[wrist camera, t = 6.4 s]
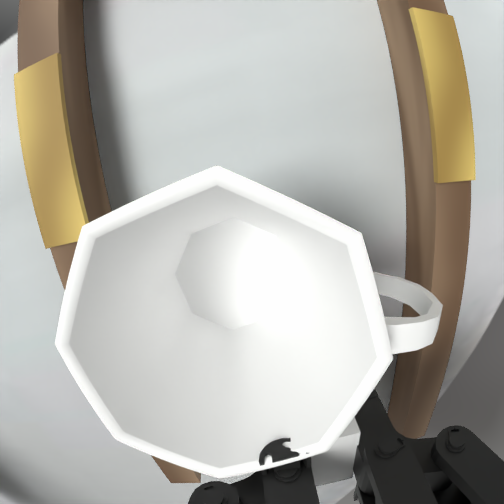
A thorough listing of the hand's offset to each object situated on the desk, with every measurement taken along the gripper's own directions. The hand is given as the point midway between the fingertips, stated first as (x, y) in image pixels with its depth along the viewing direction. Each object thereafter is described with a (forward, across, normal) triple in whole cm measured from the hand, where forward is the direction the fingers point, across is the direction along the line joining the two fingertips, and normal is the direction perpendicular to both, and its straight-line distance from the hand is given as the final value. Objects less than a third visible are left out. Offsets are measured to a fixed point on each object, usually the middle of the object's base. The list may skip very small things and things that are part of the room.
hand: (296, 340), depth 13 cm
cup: (+1, -1, +3) cm, 3 cm away
